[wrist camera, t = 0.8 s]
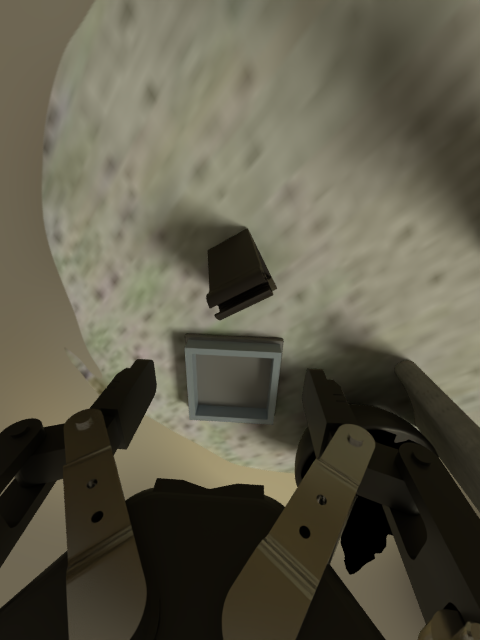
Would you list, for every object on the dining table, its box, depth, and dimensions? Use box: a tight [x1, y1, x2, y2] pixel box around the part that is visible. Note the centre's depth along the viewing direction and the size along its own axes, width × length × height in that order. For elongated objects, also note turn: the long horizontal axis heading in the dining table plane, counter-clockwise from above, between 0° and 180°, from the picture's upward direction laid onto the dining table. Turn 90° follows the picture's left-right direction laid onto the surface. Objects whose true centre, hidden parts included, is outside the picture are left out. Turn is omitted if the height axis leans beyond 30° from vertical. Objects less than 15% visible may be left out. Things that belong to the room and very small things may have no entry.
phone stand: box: [206, 228, 277, 320], centre depth 29 cm, size 9×6×12 cm, turn 28°
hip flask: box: [395, 360, 480, 512], centre depth 33 cm, size 16×4×20 cm, turn 30°
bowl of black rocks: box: [295, 404, 439, 574], centre depth 37 cm, size 20×20×19 cm
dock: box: [185, 334, 284, 425], centre depth 41 cm, size 15×15×3 cm
